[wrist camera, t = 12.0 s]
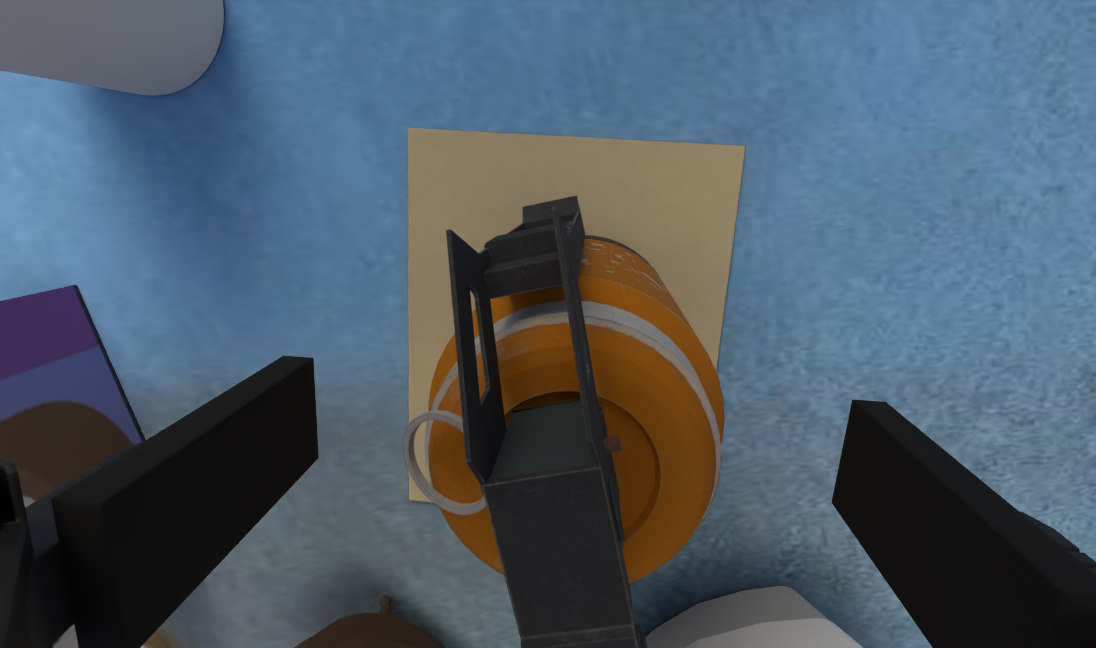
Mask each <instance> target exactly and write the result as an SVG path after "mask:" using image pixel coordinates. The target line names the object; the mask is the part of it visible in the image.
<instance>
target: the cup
mask: <svg viewBox="0 0 1096 648" xmlns="http://www.w3.org/2000/svg"><path fill="white" fill-rule="evenodd" d="M223 24H224V8H223V0H0V70H1V71H7V72H13V73H19V74H24V75H30V76H36V77H42V78H48V79H53V80H59V81H65V82H71V83H76V84H82V85H88V86H94V87H100V88H105V89H111V90H117V91H123V92H129V93H134V94H140V95H149V96H158V95H166V94H171V93H174V92H177V91H180V90H182V89H184V88H186V87H188V86H189V85H191V84H192V83H194V82H195V81H196V80H197V79H198V78H199V77H201V76H202V74H203V73H204V72H205V71H206V70H207V68H208V67H209V66H210V64H211V63H212V61H213V59H214V57H215V55H216V53H217V50H218V48H219V44H220V41H221V37H222V32H223Z"/></svg>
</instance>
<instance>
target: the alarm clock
mask: <svg viewBox="0 0 1096 648" xmlns="http://www.w3.org/2000/svg"><path fill="white" fill-rule="evenodd" d="M390 603H391V598H390V597H389V596H388V595H384V596H382V597H381V599H380V604H381V605H382V608H381V613H380V614H379V613H363V614H356V615H352V616H348V617H345V618H342V619H340V620H337V621H336V622H334V623H332V624H330V625H328V626H327V627H326V628H324V629H323V630H321V631H320V632H318V633H317V634H315V635H313V636H312V637H310V638H309V639H307V640H305V641H304V642H302V643H300V644H299V645H297V646H296V647H294V648H444V647H443V646H442V645H441V644H440V643H438V642H437V641H436V640H435V639H434V638H433V637H432V636H430V635H429V634H427V633H426V632H425V631H423V630H422V629H420V628H419V627H417V626H415V625H413V624H411V623H409V622H407V621H405V620H403V619H400V618H397V617H394V616H390V611H389V604H390Z"/></svg>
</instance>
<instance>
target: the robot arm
mask: <svg viewBox="0 0 1096 648" xmlns="http://www.w3.org/2000/svg"><path fill="white" fill-rule="evenodd" d="M318 458H319V457H318V438H317V419H316V400H315V381H314V362H313V358H306V357H293V356H282V357H281V358H279V359H278V360H276V361H274V362H273V363H271V364H269V365H268V366H266V367H265V368H263V369H261V370H260V371H258V372H256V373H255V374H253V375H252V376H250V377H248V378H247V379H245V380H243V381H242V382H240V383H239V384H237V385H235V386H234V387H232V388H230V389H229V390H227V391H226V392H224V393H222V394H221V395H219V396H217V397H216V398H214V399H213V400H211V401H209V402H208V403H206V404H204V405H203V406H201V407H200V408H198V409H196V410H195V411H193V412H191V413H190V414H188V415H187V416H185V417H183V418H182V419H180V420H178V421H177V422H175V423H174V424H172V425H170V426H169V427H167V428H165V429H164V430H162V431H161V432H159V433H157V434H156V435H154V436H152V437H151V438H149V439H148V440H145V441H143V442H140V443H137V444H135V445H132V446H129V447H127V448H124V449H121V450H120V451H118V452H116V453H115V454H113V455H111V456H110V457H108V458H107V459H105V460H103V461H102V462H100V463H99V465H98V466H93V467H92V468H90V469H88V470H87V471H85V472H83V473H82V474H80V477H79V478H73V479H72V480H70V481H68V482H67V483H65V484H63V485H62V486H60V487H58V488H57V489H55V490H53V491H52V492H50V493H48V494H47V495H45V496H43V497H42V498H40V499H39V500H37V501H35V502H34V503H32V504H30V505H29V506H27V507H25V505H24V500H23V495H22V490H21V485H20V480H19V475H18V470H17V468H16V466H15V464H13V463H10V462H7V461H4V460H0V648H53V644H52V643H53V642H54V641H55V640H57V639H58V638H59V637H60V636H61V635H62V634H63V633H65V632H66V631H67V630H68V629H69V628H70V627H71V626H72V625H75V631H76V636H77V641H78V647H79V648H140V647H141V646H142V645H143V644H144V643H145V642H146V641H147V640H148V638H149V637H150V636H151V635H152V634H153V633H154V632H155V631H156V630H157V629H158V628H159V627H160V626H161V625H162V624H163V623H164V622H165V620H166V619H167V618H168V617H169V616H170V615H171V614H172V613H173V612H174V611H175V610H176V609H177V608H178V607H179V606H180V605H181V603H182V602H183V601H184V600H185V599H186V598H187V597H188V596H189V595H190V594H191V593H192V592H193V591H194V590H195V589H196V588H197V586H198V585H199V584H200V583H201V582H202V581H203V580H204V579H205V578H206V577H207V576H208V575H209V574H210V573H211V572H212V571H213V569H214V568H215V567H216V566H217V565H218V564H219V563H220V562H221V561H222V560H223V559H224V558H225V557H226V556H227V555H228V554H229V552H230V551H231V550H232V549H233V548H234V547H235V546H236V545H237V544H238V543H239V542H240V541H241V540H242V539H243V538H244V537H245V535H246V534H247V533H248V532H249V531H250V530H251V529H252V528H253V527H254V526H255V525H256V524H257V523H258V522H259V521H260V520H261V518H262V517H263V516H264V515H265V514H266V513H267V512H268V511H269V510H270V509H271V508H272V507H273V506H274V505H275V504H276V503H277V501H278V500H279V499H280V498H281V497H282V496H283V495H284V494H285V493H286V492H287V491H288V490H289V489H290V488H291V487H292V486H293V484H294V483H295V482H296V481H297V480H298V479H299V478H300V477H301V476H302V475H303V474H304V473H305V472H306V471H307V470H308V469H309V467H310V466H311V465H312V464H313V463H314V462H315V461H316V460H317V459H318ZM832 504H833V505H834V507H835V508H836V510H837V511H838V512H839V514H840V515H841V517H842V518H843V520H844V521H845V523H846V524H847V525H848V527H849V528H850V530H851V531H852V533H853V534H854V535H855V537H856V538H857V540H858V541H859V543H860V544H861V545H862V547H863V548H864V550H865V551H866V553H867V554H868V556H869V557H870V558H871V560H872V561H873V563H874V564H875V566H876V567H877V568H878V570H879V571H880V573H881V574H882V576H883V577H884V578H885V580H886V581H887V583H888V584H889V586H890V587H891V589H892V590H893V591H894V593H895V594H896V596H897V597H898V599H899V600H900V601H901V603H902V604H903V606H904V607H905V609H906V610H907V612H908V613H909V614H910V616H911V617H912V619H913V620H914V622H915V623H916V624H917V626H918V627H919V629H920V630H921V632H922V633H923V634H924V636H925V637H926V639H927V640H928V642H929V643H930V645H931V646H932V647H933V648H1096V562H1095V561H1094V560H1093V559H1091V558H1090V557H1089V556H1088V555H1086V554H1085V553H1080V551H1079V548H1077V547H1076V546H1075V545H1074V544H1072V543H1071V542H1070V541H1069V540H1067V539H1066V538H1065V537H1064V536H1062V535H1061V534H1060V533H1059V532H1057V531H1056V530H1055V529H1053V528H1051V527H1049V526H1047V525H1046V524H1044V523H1042V522H1040V521H1038V520H1036V519H1034V518H1033V517H1031V516H1029V515H1027V514H1025V513H1023V512H1019V511H1018V510H1016V509H1015V508H1014V507H1013V506H1012V505H1010V504H1009V503H1008V502H1007V501H1005V500H1004V499H1003V498H1002V497H1001V496H999V495H998V494H997V493H996V492H994V491H993V490H992V489H991V488H990V487H988V486H987V485H986V484H985V483H984V482H982V481H981V480H980V479H979V478H977V477H976V476H975V475H974V474H973V473H971V472H970V471H969V470H968V469H967V468H965V467H964V466H963V465H962V464H960V463H959V462H958V461H957V460H956V459H954V458H953V457H952V456H951V455H949V454H948V453H947V452H946V451H945V450H943V449H942V448H941V447H940V446H939V445H937V444H936V443H935V442H934V441H932V440H931V439H930V438H929V437H928V436H926V435H925V434H924V433H923V432H921V431H920V430H919V429H918V428H917V427H915V426H914V425H913V424H912V423H911V422H909V421H908V420H907V419H906V418H904V417H903V416H902V415H901V414H900V413H898V412H897V411H896V410H895V409H894V408H892V407H891V406H890V405H889V404H887V403H886V402H878V401H865V400H852V404H851V409H850V414H849V419H848V424H847V429H846V434H845V439H844V444H843V449H842V454H841V459H840V464H839V469H838V474H837V479H836V484H835V489H834V493H833V498H832Z"/></svg>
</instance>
